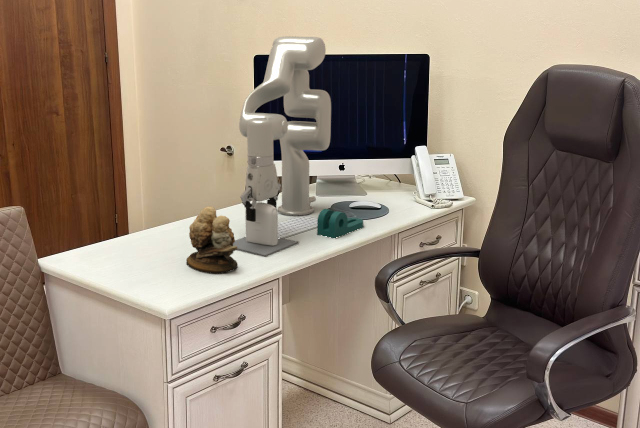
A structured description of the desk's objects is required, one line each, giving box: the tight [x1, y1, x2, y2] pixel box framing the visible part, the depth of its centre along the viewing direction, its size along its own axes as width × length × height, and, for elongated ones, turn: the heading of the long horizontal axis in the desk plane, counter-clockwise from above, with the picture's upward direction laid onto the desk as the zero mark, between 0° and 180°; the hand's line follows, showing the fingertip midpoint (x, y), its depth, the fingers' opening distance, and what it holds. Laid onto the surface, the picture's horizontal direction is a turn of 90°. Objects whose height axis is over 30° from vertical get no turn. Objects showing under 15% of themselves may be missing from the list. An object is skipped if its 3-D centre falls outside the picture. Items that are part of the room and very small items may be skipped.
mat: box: [233, 236, 300, 258], centre depth 221 cm, size 16×16×1 cm
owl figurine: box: [186, 205, 239, 275], centre depth 201 cm, size 18×12×17 cm, turn 48°
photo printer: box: [244, 201, 279, 246], centre depth 220 cm, size 10×4×12 cm, turn 62°
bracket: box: [316, 208, 364, 239], centre depth 236 cm, size 18×7×8 cm, turn 142°
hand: (261, 216), depth 219 cm, fingers open, 9 cm apart
